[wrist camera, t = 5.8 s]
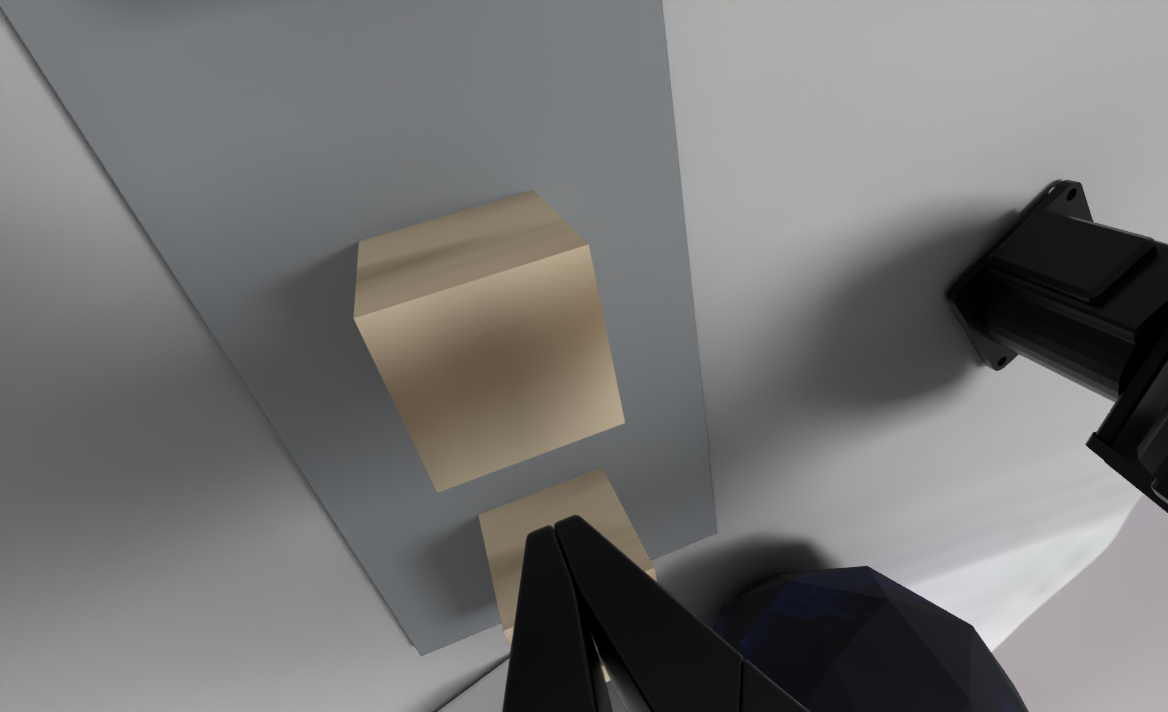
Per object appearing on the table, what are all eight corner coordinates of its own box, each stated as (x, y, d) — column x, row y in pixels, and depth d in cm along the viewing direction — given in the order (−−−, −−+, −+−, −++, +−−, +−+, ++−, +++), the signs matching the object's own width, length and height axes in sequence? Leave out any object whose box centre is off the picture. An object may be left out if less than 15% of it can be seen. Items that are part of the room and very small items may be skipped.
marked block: (622, 549, 25) (672, 655, 21) (510, 595, 24) (539, 715, 20) (602, 467, 22) (655, 570, 18) (475, 515, 21) (500, 635, 17)
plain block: (570, 336, 19) (624, 423, 15) (422, 387, 18) (437, 493, 14) (533, 189, 16) (588, 244, 12) (358, 241, 15) (353, 318, 11)
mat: (711, 523, 27) (717, 532, 26) (420, 643, 25) (420, 656, 24) (593, -535, 11) (603, -563, 10) (-283, -463, 8) (-325, -494, 8)
